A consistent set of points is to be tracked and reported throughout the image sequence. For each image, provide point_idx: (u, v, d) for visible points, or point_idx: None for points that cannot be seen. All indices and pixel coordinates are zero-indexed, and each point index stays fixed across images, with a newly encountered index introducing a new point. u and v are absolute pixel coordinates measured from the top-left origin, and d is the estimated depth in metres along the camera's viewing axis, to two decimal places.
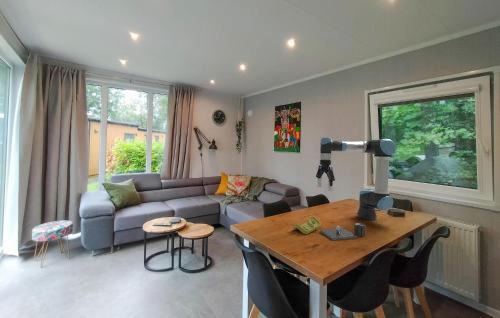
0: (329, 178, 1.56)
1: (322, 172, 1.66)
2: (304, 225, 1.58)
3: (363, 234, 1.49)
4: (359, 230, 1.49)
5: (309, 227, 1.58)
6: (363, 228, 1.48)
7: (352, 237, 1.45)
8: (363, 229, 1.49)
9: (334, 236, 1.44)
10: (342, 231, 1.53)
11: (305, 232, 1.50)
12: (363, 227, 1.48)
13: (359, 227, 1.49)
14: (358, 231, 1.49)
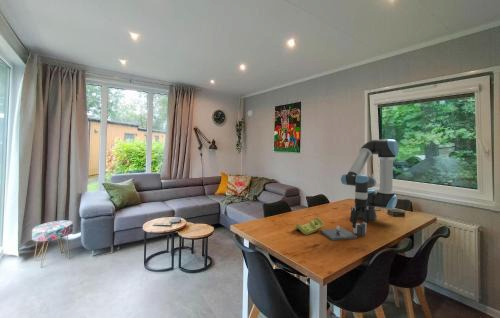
0: None
1: (362, 213, 1.52)
2: (306, 225, 1.57)
3: (363, 234, 1.49)
4: (359, 230, 1.49)
5: (311, 228, 1.56)
6: (363, 228, 1.49)
7: (352, 237, 1.45)
8: (363, 229, 1.49)
9: (334, 236, 1.44)
10: (342, 231, 1.53)
11: (305, 232, 1.49)
12: (363, 227, 1.48)
13: (359, 227, 1.49)
14: (358, 231, 1.49)
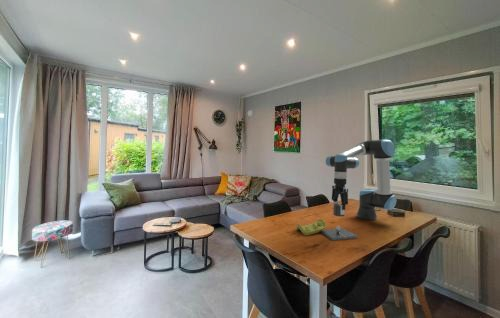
0: (342, 201, 1.44)
1: (337, 193, 1.51)
2: (308, 226, 1.56)
3: None
4: None
5: (313, 229, 1.55)
6: None
7: (352, 237, 1.45)
8: None
9: (334, 236, 1.44)
10: (342, 231, 1.53)
11: (305, 233, 1.49)
12: None
13: None
14: None
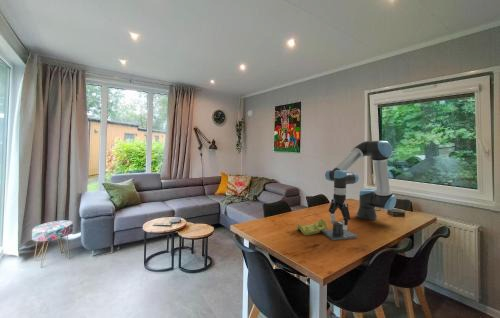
0: (344, 216, 1.42)
1: (336, 207, 1.52)
2: (308, 226, 1.56)
3: None
4: None
5: (313, 229, 1.54)
6: None
7: (352, 237, 1.45)
8: None
9: (334, 236, 1.44)
10: None
11: (304, 233, 1.49)
12: None
13: None
14: None
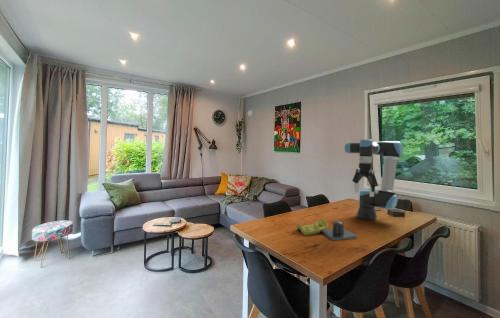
0: (371, 183, 1.44)
1: (361, 176, 1.55)
2: (308, 226, 1.56)
3: None
4: (343, 228, 1.48)
5: (313, 229, 1.54)
6: None
7: (352, 237, 1.45)
8: None
9: (334, 236, 1.44)
10: None
11: (304, 233, 1.49)
12: None
13: (343, 225, 1.48)
14: (343, 229, 1.48)
